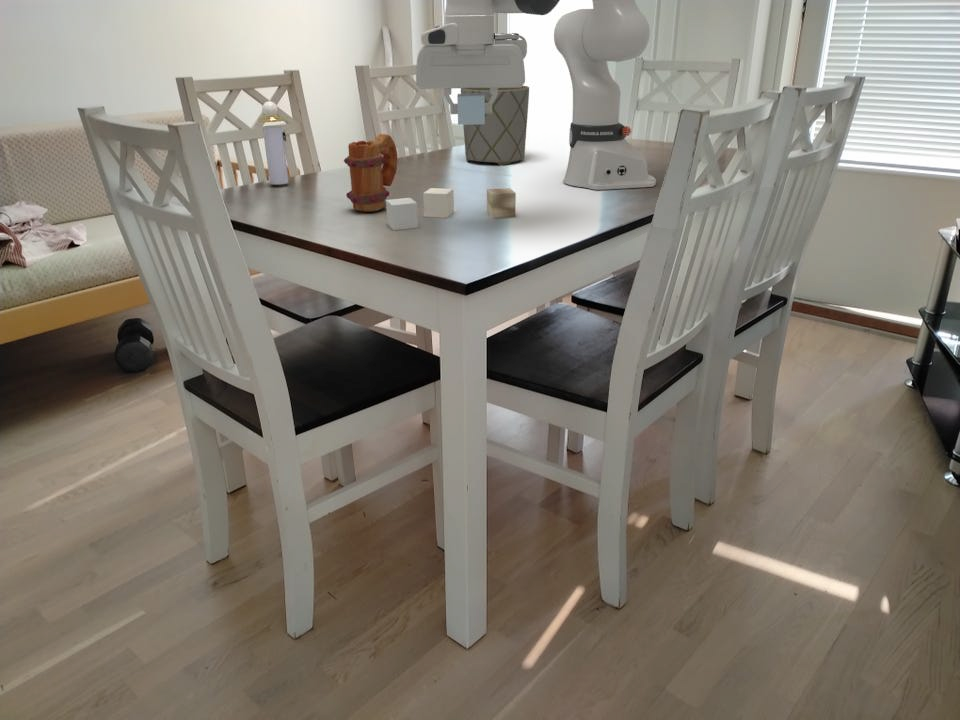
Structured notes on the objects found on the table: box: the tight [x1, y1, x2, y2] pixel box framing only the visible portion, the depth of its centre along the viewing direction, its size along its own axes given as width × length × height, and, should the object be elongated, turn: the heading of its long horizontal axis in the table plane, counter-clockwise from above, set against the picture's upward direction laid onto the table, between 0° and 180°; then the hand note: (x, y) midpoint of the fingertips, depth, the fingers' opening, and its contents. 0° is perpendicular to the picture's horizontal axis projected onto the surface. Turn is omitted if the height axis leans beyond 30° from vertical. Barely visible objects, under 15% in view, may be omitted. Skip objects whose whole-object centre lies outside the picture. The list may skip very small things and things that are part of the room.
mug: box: [343, 133, 398, 213], centre depth 157 cm, size 15×8×15 cm, turn 148°
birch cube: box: [486, 187, 517, 219], centre depth 153 cm, size 5×5×5 cm
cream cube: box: [422, 187, 455, 219], centre depth 153 cm, size 5×5×5 cm
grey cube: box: [385, 197, 419, 231], centre depth 145 cm, size 5×5×5 cm
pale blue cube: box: [457, 93, 485, 126], centre depth 138 cm, size 5×5×5 cm
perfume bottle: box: [258, 100, 290, 185], centre depth 179 cm, size 6×6×20 cm
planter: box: [460, 85, 530, 166], centre depth 207 cm, size 19×19×20 cm
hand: (471, 113), depth 138 cm, fingers closed on pale blue cube, 5 cm apart
